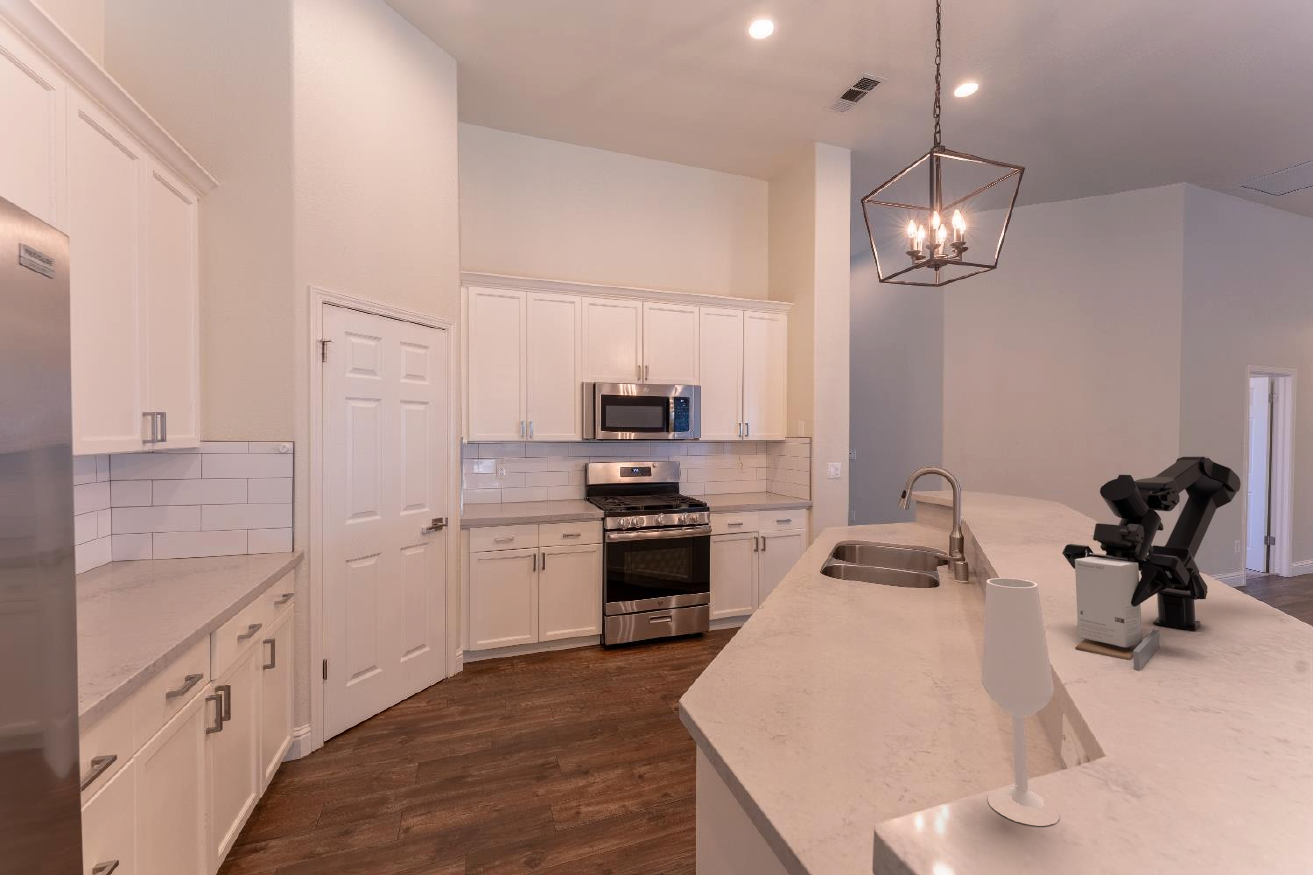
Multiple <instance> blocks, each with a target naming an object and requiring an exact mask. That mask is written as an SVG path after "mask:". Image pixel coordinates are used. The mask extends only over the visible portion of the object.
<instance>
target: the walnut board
mask: <svg viewBox="0 0 1313 875" xmlns="http://www.w3.org/2000/svg"><path fill="white" fill-rule="evenodd" d="M1139 644H1140V643H1139ZM1139 644H1136V645H1133V646H1129V647H1120V646H1117V645H1113V644H1108V643H1103V642H1098V641H1094V640H1089V639H1084V638H1083V640H1082V641H1080V643H1078V644H1077V645H1076V646H1075V647H1074V649H1075V650H1078V651H1083V652H1087V653H1088V652H1089V653H1093V654H1099V655H1103V656H1108V657H1113V658H1119V659H1123V660H1128V661H1130V660H1131V659H1133V651H1134V650H1135V648H1136V647H1137V646H1138V645H1139Z"/></svg>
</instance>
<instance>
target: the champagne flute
mask: <svg viewBox="0 0 1313 875" xmlns="http://www.w3.org/2000/svg"><path fill="white" fill-rule="evenodd" d="M985 586H986V587H985V588H986V589H985V600H984V602H985V603H984V604H985V606H984V621H983V622H984V623H983V639H982V656H981V674H980V675H981V676H980V681H981V685H982V687H983V689H984V690H985V692H986V693H987V694H988V696H989V697H990V698H991V700H993V702H995V703H996V704H997V705H998V707H999V708H1001V709H1002V710H1003V711H1004V712H1005V713H1007V714H1009V715H1010V716H1011V727H1012V730H1011V731H1012V747H1013V765H1014V767H1013V768H1014V769H1013V770H1014V772H1013V773H1014V786H1012V788H1010V787H1008V788H1009V791H1006V792H1005V793H1004V794H1007V795H1010V796H1012V800H1013V801H1015V802H1016V803H1019V804H1020V805H1023V806H1027V807H1028V806H1030V807H1033V808H1042V807H1043V806H1044V803H1043V801H1044V800H1043V799H1044V798H1043V797H1041V796H1040V797H1039V795H1038V794H1037V793H1035V792H1033V791H1031V790H1029V785H1028V784H1029V781H1028V780H1029V779H1028V764H1027V763H1028V761H1027V759H1028V758H1027V744H1026V743H1027V740H1026V725H1025V724H1026V722H1025V720H1026V719H1025V718H1029V717H1031V716H1033V715H1034V714H1036V713H1037V712H1039V711H1041V710H1042V709H1044V708H1045V707H1046V706H1047V705H1048V704H1049V703H1050V701H1051V700H1052V698H1053V696H1054V694H1055V693H1054V692H1055V686H1054V682H1053V675H1052V669H1051V662H1050V655H1049V650H1048V643H1047V636H1046V631H1045V625H1044V624H1045V623H1044V618H1043V612H1042V605H1041V598H1040V597H1041V596H1040V593H1039V592H1040V591H1039V585H1038V583H1036V582H1035V581H1031V580H1026V579H1021V578H1013V577H995V578H989V579H986V585H985ZM1015 785H1017V786H1015ZM1006 790H1007V789H1006ZM1003 791H1005V790H1003ZM1042 798H1043V799H1042Z"/></svg>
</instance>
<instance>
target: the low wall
mask: <svg viewBox="0 0 1313 875" xmlns="http://www.w3.org/2000/svg"><path fill="white" fill-rule="evenodd" d="M1160 647H1161V640H1160V630H1159V629H1154V628H1153V629H1152V630H1151V632H1150V633H1149V634H1147V635H1146V637H1145V638H1143V639H1142V642H1141V643H1140V644H1139V645H1138V646H1137V647H1136V648H1135V650H1134V651H1133V657H1132V660H1133V670H1136V671H1141V670H1142V669H1143V668H1144V666H1145V665H1146V664H1147V663H1148V661H1149V660H1150V659H1151V658H1152V657H1153V656H1154V654H1155V653H1156V652H1157V651H1158V650H1159V649H1160Z"/></svg>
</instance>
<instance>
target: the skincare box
mask: <svg viewBox="0 0 1313 875" xmlns="http://www.w3.org/2000/svg"><path fill="white" fill-rule="evenodd" d="M1074 570H1075V571H1074V572H1075V591H1076V592H1075V593H1076V613H1077V616H1076V617H1077V618H1076V619H1077V633H1078V634H1077V635H1078V637H1079V638H1080V639H1083V640H1084V639H1089V640H1094V641H1098V642H1103V643H1108V644H1113V645H1117V646H1120V647H1129V646H1133V645H1136V644H1139V643H1141V642H1142V641H1143V629H1142V628H1143V627H1142V610H1141V606H1142V605H1141V604H1139V605H1138V606H1136V607H1134V606H1132V604H1131V601H1132V597H1133V594H1134V592H1135V590H1136V588H1137V586H1138V583H1139V581H1140V573H1139V572H1140V571H1139V567H1138V563H1135V562H1129V561H1122V560H1116V559H1107V558H1098V557H1086V558H1080V559H1075V569H1074Z"/></svg>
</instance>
